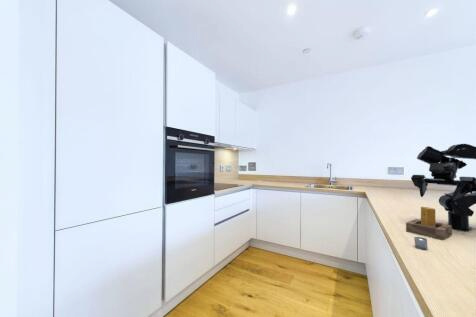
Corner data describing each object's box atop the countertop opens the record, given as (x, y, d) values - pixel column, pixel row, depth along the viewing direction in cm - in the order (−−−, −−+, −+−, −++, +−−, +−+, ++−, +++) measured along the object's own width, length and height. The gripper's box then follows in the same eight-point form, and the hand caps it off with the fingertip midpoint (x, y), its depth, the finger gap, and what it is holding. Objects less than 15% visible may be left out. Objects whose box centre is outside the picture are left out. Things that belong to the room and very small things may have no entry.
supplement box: (437, 235, 73) (436, 208, 74) (427, 234, 74) (426, 208, 74) (429, 231, 77) (429, 206, 77) (420, 231, 77) (419, 206, 77)
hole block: (416, 226, 83) (416, 218, 83) (452, 234, 74) (451, 225, 74) (406, 231, 77) (405, 222, 77) (443, 240, 68) (443, 230, 68)
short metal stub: (419, 245, 64) (418, 236, 64) (430, 249, 61) (429, 239, 61) (412, 246, 63) (411, 237, 64) (423, 250, 61) (422, 240, 61)
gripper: (412, 156, 88) (400, 182, 83) (475, 155, 71) (465, 187, 66) (421, 173, 91) (410, 199, 86) (483, 175, 74) (474, 207, 69)
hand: (436, 198), depth 76 cm, fingers open, 9 cm apart
